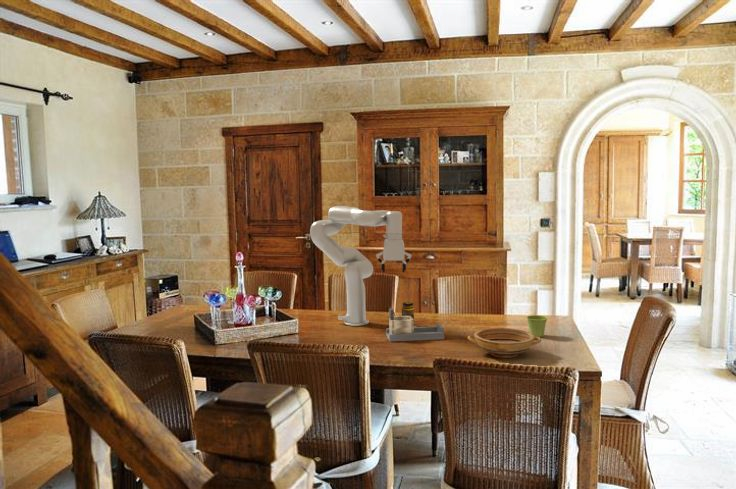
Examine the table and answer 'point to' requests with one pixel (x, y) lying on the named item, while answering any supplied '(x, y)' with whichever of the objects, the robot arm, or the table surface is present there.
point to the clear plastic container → (400, 323)
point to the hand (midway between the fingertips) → (393, 271)
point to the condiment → (408, 310)
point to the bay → (419, 334)
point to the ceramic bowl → (504, 341)
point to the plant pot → (537, 325)
